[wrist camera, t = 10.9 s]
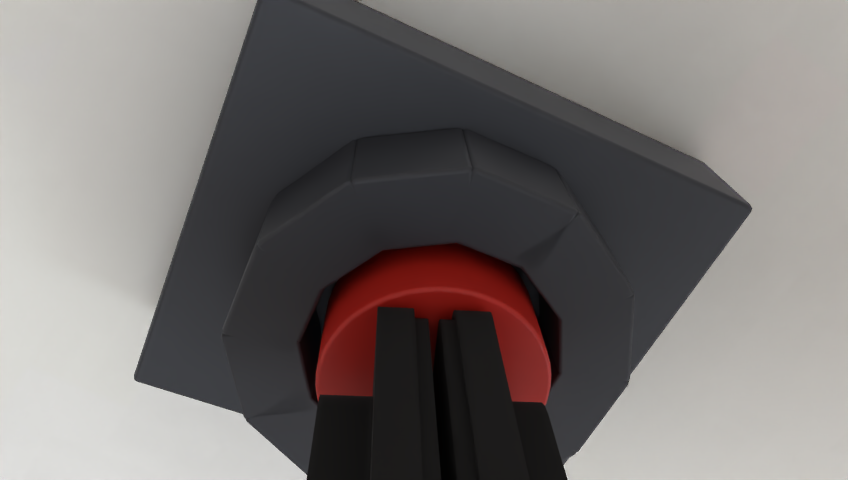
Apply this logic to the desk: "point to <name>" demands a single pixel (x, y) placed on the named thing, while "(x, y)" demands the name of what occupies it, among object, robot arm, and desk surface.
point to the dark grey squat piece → (418, 215)
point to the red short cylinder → (430, 315)
